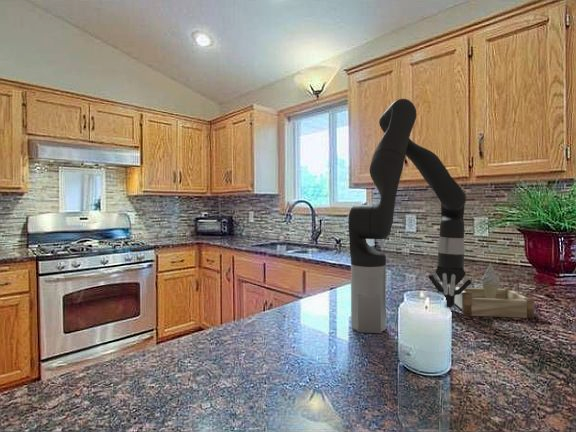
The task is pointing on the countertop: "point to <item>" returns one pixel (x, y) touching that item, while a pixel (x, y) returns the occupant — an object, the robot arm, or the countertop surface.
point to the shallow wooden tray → (497, 303)
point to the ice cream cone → (490, 282)
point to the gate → (459, 299)
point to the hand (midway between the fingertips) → (448, 306)
